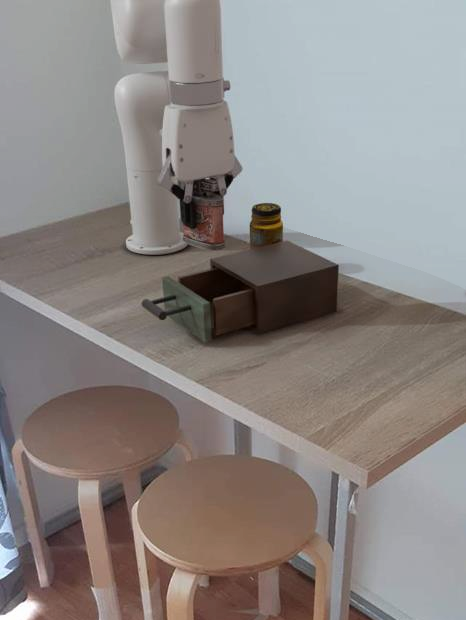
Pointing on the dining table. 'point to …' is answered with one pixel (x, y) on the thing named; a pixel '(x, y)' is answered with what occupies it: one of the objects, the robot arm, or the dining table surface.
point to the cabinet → (284, 283)
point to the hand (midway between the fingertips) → (202, 222)
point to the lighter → (206, 217)
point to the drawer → (206, 303)
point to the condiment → (265, 225)
